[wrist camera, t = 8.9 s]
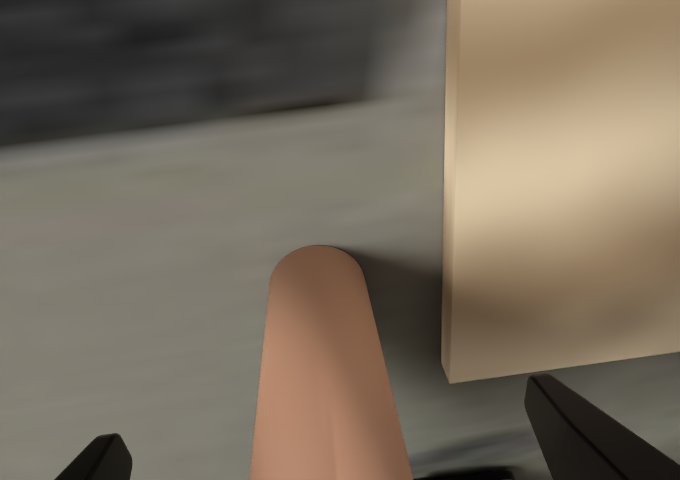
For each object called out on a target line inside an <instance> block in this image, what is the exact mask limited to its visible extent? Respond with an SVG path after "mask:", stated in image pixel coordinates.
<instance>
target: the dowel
mask: <svg viewBox="0 0 680 480" xmlns="http://www.w3.org/2000/svg"><path fill="white" fill-rule="evenodd" d="M250 480H413V476H412V472H411V468H410V464H409V460H408V456H407V452H406V447H405V443H404V439H403V435H402V431H401V427H400V423H399V419H398V414H397V410H396V406H395V402H394V398H393V394H392V390H391V386H390V381H389V377H388V373H387V369H386V365H385V361H384V357H383V353H382V348H381V344H380V340H379V336H378V332H377V328H376V324H375V320H374V315H373V311H372V307H371V303H370V299H369V295H368V291H367V286H366V282H365V278H364V274H363V272H362V269H361V267H360V266H359V264H358V263H357V261H356V260H355V259H354V258H353V257H351V256H350V255H349V254H347V253H346V252H344V251H342V250H339V249H337V248H334V247H329V246H319V245H317V246H308V247H304V248H301V249H298V250H296V251H293V252H292V253H290V254H288V255H287V256H286V257H284V258H283V259H282V260H281V261H280V262H279V263H278V264H277V266H276V267H275V269H274V271H273V273H272V276H271V279H270V286H269V296H268V306H267V315H266V325H265V335H264V344H263V354H262V364H261V373H260V383H259V393H258V402H257V412H256V422H255V432H254V441H253V451H252V461H251V470H250Z"/></svg>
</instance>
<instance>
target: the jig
mask: <svg viewBox="0 0 680 480" xmlns="http://www.w3.org/2000/svg"><path fill="white" fill-rule="evenodd" d="M674 352H680V0H447V39H446V99H445V159H444V220H443V280H442V341H441V363H442V366H443V369H444V371H445V374H446V376H447V379H448V381H449V384H452V383H459V382H466V381H473V380H480V379H488V378H495V377H502V376H509V375H516V374H523V373H531V372H538V371H545V370H552V369H559V368H566V367H574V366H581V365H588V364H595V363H602V362H609V361H616V360H624V359H631V358H638V357H645V356H652V355H659V354H667V353H674Z"/></svg>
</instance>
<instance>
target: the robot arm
mask: <svg viewBox="0 0 680 480" xmlns="http://www.w3.org/2000/svg"><path fill="white" fill-rule="evenodd" d="M525 409H526V412H527V415H528V417H529V420H530V422H531V425H532V427H533V430H534V432H535V435H536V438H537V440H538V443H539V445H540V448H541V450H542V453H543V455H544V458H545V460H546V463H547V465H548V468H549V470H550V473H551V475H552V477H553V480H680V465H679V464H678V463H676V462H675V461H673V460H672V459H670V458H669V457H668V456H666V455H665V454H663V453H662V452H660V451H659V450H657V449H656V448H655V447H653V446H652V445H650V444H649V443H647V442H646V441H645V440H643V439H642V438H640V437H639V436H637V435H636V434H635V433H633V432H632V431H630V430H629V429H627V428H626V427H624V426H623V425H622V424H620V423H619V422H617V421H616V420H614V419H613V418H612V417H610V416H609V415H607V414H606V413H604V412H603V411H602V410H600V409H599V408H597V407H596V406H594V405H593V404H591V403H590V402H589V401H587V400H586V399H584V398H583V397H581V396H580V395H579V394H577V393H576V392H574V391H573V390H571V389H570V388H568V387H567V386H566V385H564V384H563V383H561V382H560V381H558V380H557V379H556V378H554V377H553V376H551V375H549V374H539V375H532V376H530V377H529V378H528V381H527V388H526V394H525ZM131 471H132V457H131V455H130V453H129V451H128V449H127V447H126V445H125V443H124V441H123V439H122V438H121V436H120V435H119V434H117V433H113V434H106V435H100V436H98V437H96V438H95V439H94V440H93V441H92V442H91V443H90V444H89V445H88V446H87V447H86V448H85V449H84V450H83V451H82V452H81V453H80V454H79V455H78V456H77V457H76V458H75V459H74V460H73V461H72V462H71V463H70V464H69V465H68V466H67V467H66V468H65V469H64V470H63V471H62V472H61V473H60V474H59V475H58V476H57V477H56V479H55V480H130V476H131ZM440 480H515V478H514V476H513V473H512V472H511V471H508V470H502V471H495V472H488V473H481V474H474V475H468V476H461V477H454V478H447V479H440Z"/></svg>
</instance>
